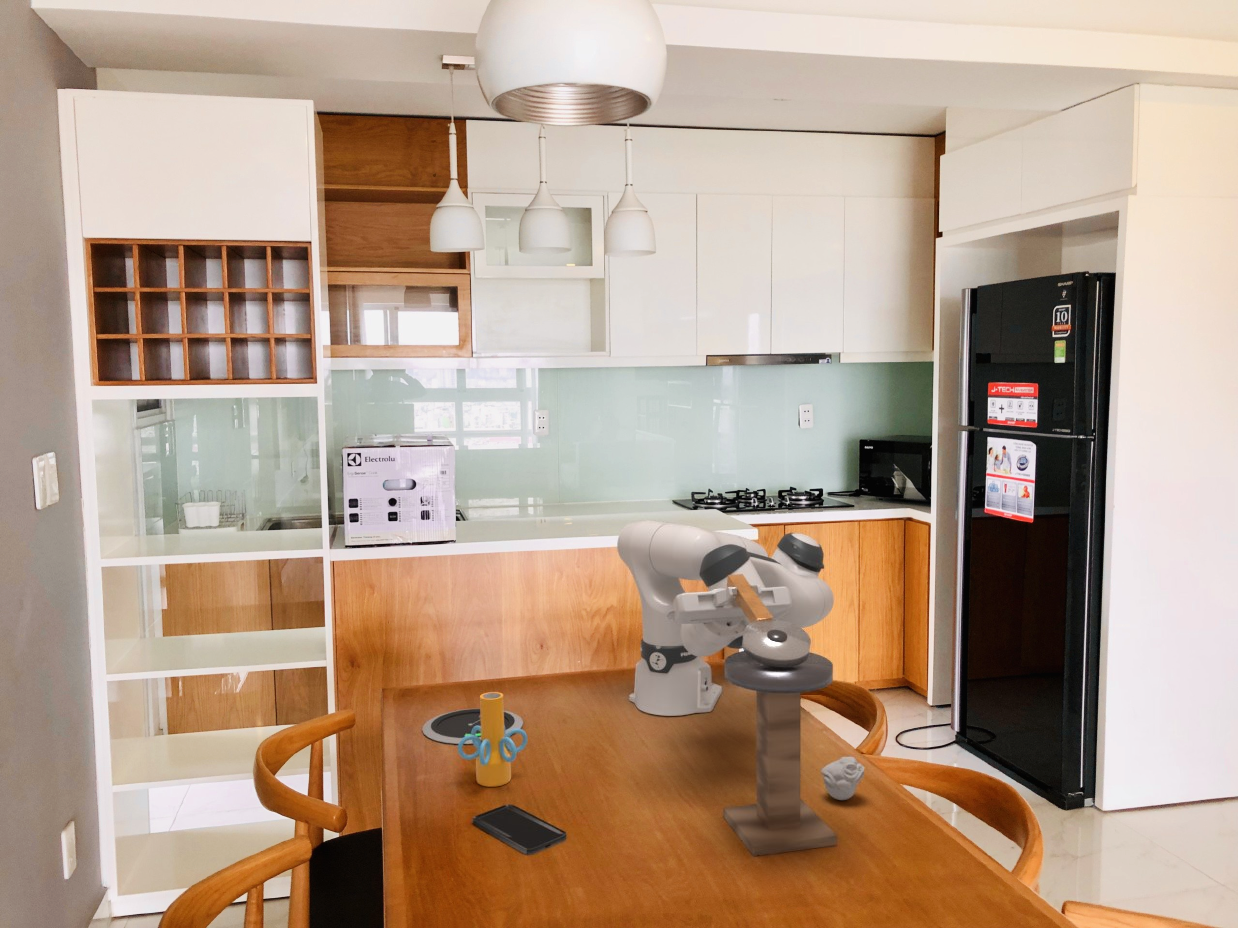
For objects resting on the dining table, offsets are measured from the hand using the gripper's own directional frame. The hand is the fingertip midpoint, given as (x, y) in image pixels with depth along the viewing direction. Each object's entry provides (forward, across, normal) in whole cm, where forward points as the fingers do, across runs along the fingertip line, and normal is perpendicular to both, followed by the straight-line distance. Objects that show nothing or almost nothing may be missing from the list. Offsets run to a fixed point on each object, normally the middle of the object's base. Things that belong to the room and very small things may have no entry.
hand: (745, 590), depth 155 cm
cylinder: (-31, -40, +22) cm, 55 cm away
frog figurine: (-12, +14, +33) cm, 38 cm away
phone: (-14, -38, +32) cm, 52 cm away
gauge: (-55, -41, +8) cm, 69 cm away
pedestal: (-5, 0, +36) cm, 37 cm away
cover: (+3, 0, +7) cm, 7 cm away
